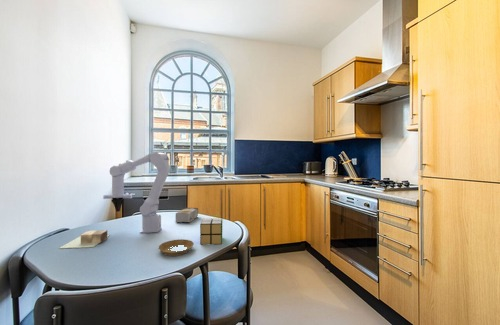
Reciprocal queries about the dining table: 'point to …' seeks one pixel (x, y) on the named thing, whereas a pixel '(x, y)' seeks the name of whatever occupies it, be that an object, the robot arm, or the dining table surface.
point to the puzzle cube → (211, 231)
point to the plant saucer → (167, 245)
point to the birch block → (94, 236)
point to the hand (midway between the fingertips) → (118, 211)
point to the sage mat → (78, 244)
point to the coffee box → (186, 215)
